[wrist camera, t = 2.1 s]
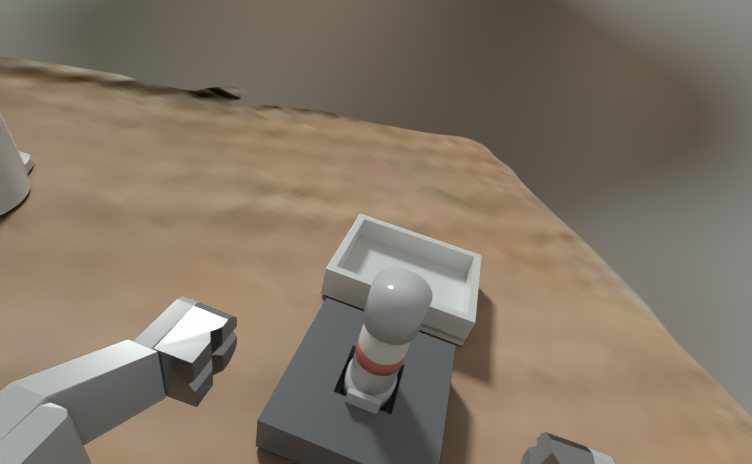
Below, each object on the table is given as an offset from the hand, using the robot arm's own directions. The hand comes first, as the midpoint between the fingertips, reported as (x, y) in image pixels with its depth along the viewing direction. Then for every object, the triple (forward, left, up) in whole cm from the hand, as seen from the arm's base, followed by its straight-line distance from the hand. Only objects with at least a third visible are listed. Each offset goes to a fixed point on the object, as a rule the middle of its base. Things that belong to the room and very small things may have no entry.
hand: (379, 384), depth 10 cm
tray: (0, +27, -20) cm, 34 cm away
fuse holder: (0, +12, -20) cm, 24 cm away
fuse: (0, +12, -19) cm, 23 cm away
